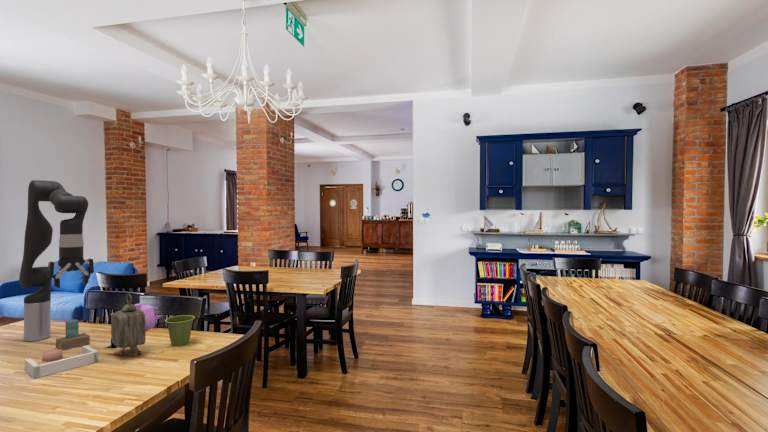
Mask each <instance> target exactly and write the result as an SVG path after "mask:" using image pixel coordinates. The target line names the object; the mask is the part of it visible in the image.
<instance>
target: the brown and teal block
mask: <svg viewBox="0 0 768 432" xmlns="http://www.w3.org/2000/svg"><path fill="white" fill-rule="evenodd" d="M79 322H80V321H79V320H78V319H75V318H74V319H70V320H66V321H65V336H63V337H57V338H55V349H61V350H62V352H63V351H67V350H72V349H75V348H80V347H82V346H86V345H87V346H89V345H91V343H90V342H91V340H90V335H89V334H87V333H85V332H82V333H79V326H80V325H79Z"/></svg>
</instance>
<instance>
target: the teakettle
mask: <svg viewBox="0 0 768 432" xmlns="http://www.w3.org/2000/svg"><path fill="white" fill-rule="evenodd" d="M134 305H135V306H136V308H139V309H141V310H142V311H143V312H144V313H145V324H146V330H151V329H154V328H155V326H156V320H159V319H161V318H162V315H156V314H155V310H157V309H158V307H154V306H155V305H154V306H151V304H143V303H135V304H134ZM114 313H115V312H112V313H110V316H111V317H112V314H114ZM150 328H151V329H150Z"/></svg>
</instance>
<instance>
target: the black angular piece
mask: <svg viewBox="0 0 768 432" xmlns="http://www.w3.org/2000/svg"><path fill="white" fill-rule="evenodd" d="M104 349H118V347H116V346H115V345H114V344H113V343H112V338H111V339H110V345H108V346H106V347H104Z"/></svg>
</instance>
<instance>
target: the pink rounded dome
mask: <svg viewBox="0 0 768 432" xmlns="http://www.w3.org/2000/svg"><path fill="white" fill-rule="evenodd" d="M41 356H42V359H41V360H42V362H43V363H49V362H53V361H57V360H61V359H62V358H63V351H62V350H61V349H57V348H55V349H51V350H50V349H49V350H47V351H43V352H42V355H41Z"/></svg>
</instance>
